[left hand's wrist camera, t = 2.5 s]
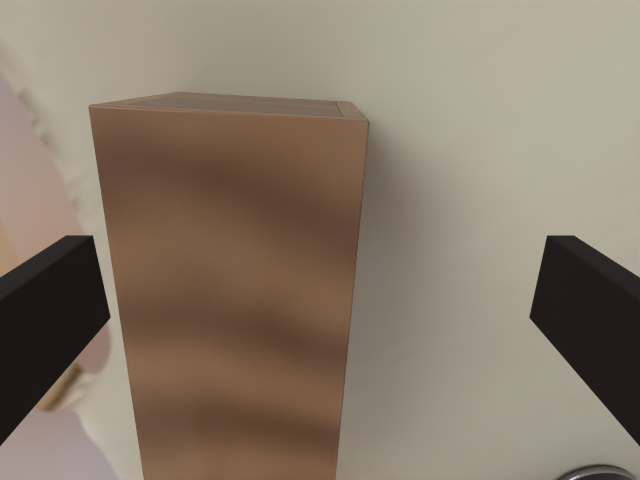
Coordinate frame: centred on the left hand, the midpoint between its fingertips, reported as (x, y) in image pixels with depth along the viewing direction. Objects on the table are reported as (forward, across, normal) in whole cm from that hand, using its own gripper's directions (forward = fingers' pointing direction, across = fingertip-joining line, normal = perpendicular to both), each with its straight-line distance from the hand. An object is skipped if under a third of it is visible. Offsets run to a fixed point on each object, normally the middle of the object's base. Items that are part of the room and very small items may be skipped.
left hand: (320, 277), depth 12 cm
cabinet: (+18, -4, -7) cm, 20 cm away
